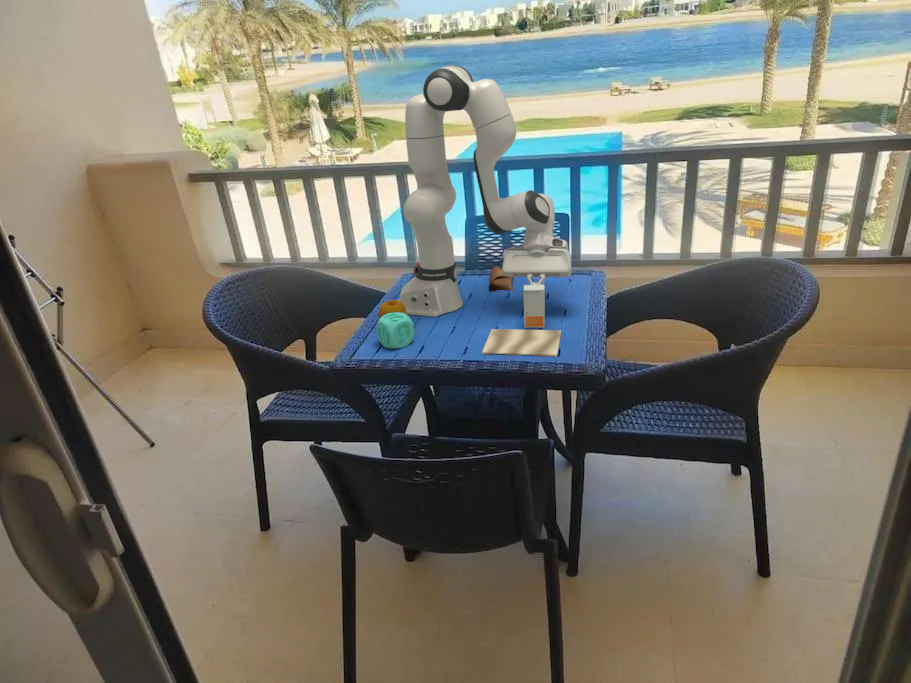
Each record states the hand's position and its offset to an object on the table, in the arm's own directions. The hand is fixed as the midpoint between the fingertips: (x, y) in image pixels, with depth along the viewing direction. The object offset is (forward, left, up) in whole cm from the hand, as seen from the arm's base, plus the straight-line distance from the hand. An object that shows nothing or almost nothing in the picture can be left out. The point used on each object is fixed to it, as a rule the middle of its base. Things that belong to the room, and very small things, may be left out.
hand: (535, 289), depth 178 cm
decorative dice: (-38, -17, -10) cm, 43 cm away
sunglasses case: (-16, +33, -11) cm, 38 cm away
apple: (-42, -7, -10) cm, 44 cm away
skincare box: (0, -3, -10) cm, 11 cm away
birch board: (-2, -15, -10) cm, 18 cm away
